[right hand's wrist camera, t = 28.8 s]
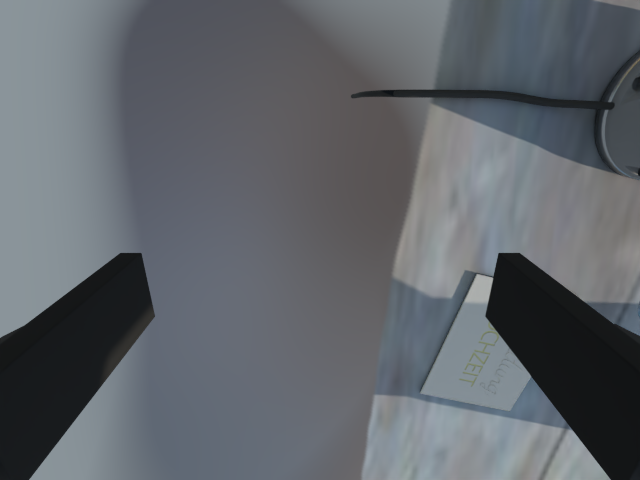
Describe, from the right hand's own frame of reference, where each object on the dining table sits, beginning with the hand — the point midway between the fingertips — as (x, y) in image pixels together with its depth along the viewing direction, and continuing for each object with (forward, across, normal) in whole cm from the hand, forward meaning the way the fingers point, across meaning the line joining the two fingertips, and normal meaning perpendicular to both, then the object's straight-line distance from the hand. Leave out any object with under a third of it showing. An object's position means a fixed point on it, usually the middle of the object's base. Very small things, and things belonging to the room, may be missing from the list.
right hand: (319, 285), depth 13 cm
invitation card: (+29, -25, +27) cm, 47 cm away
